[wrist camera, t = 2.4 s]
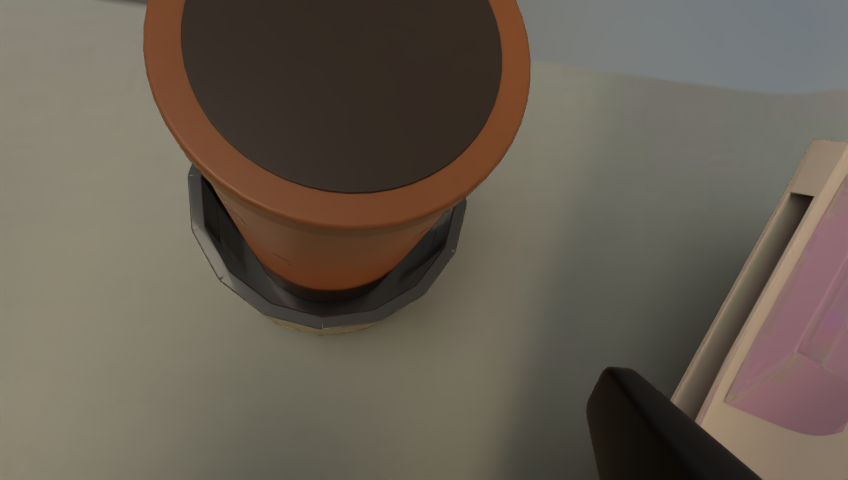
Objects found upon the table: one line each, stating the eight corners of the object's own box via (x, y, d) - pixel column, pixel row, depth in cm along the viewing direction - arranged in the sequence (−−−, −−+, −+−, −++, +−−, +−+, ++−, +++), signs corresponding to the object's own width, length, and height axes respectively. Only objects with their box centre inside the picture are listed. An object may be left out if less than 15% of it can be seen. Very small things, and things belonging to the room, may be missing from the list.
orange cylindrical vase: (385, 323, 19) (491, 276, 8) (225, 281, 18) (72, 157, 7) (423, 177, 21) (562, -52, 9) (275, 132, 20) (219, -180, 8)
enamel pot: (402, 357, 20) (430, 358, 15) (189, 302, 19) (146, 284, 14) (449, 166, 21) (488, 111, 17) (258, 107, 20) (241, 31, 16)
